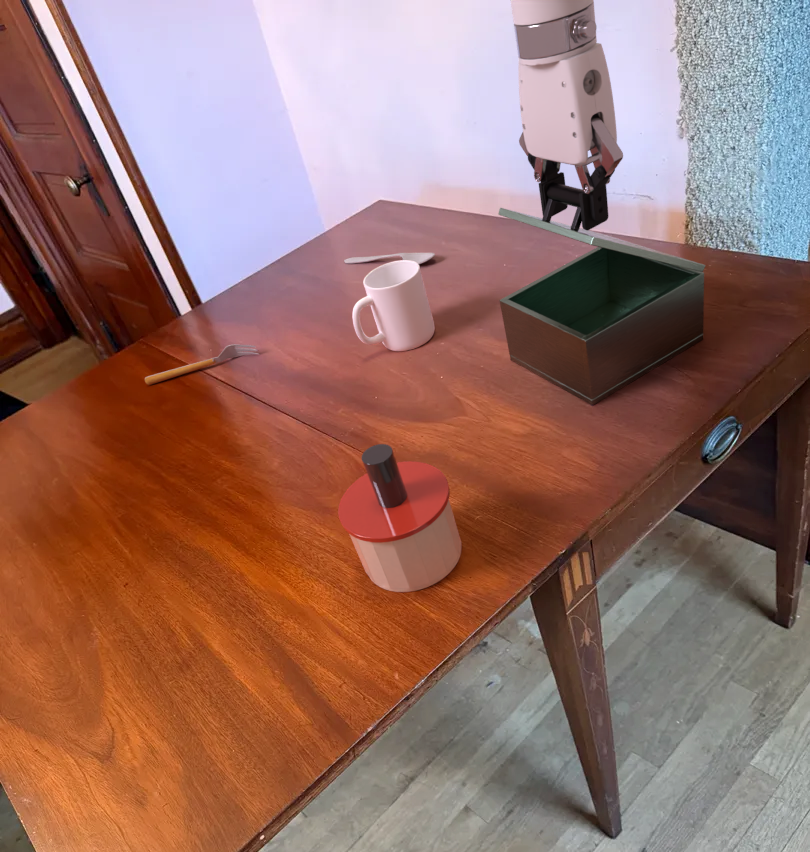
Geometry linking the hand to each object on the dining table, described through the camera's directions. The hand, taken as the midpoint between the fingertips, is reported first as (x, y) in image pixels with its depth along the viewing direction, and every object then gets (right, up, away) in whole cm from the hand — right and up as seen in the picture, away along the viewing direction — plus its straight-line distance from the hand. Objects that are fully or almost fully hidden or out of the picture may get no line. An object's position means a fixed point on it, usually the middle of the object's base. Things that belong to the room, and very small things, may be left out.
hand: (574, 217), depth 84 cm
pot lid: (-20, -33, -11) cm, 40 cm away
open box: (+6, -12, +13) cm, 18 cm away
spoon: (-22, +14, +50) cm, 57 cm away
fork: (-52, -8, +39) cm, 66 cm away
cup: (-20, -7, +28) cm, 35 cm away
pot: (-18, -38, -6) cm, 42 cm away
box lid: (+4, -1, +3) cm, 5 cm away
